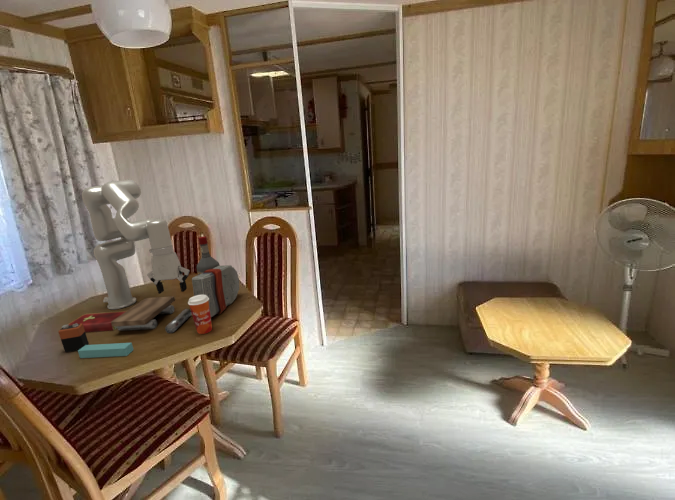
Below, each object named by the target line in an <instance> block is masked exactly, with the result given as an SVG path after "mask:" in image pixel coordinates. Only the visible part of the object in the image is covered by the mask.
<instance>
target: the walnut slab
mask: <svg viewBox="0 0 675 500" xmlns="http://www.w3.org/2000/svg"><path fill="white" fill-rule="evenodd" d="M175 301H176V298H175V295H173V296H158V297H157V296H156V297H144V299H142V300H140V301H139V302H138V303H136V304H135V305H133V306H132V307H131V308H129V309H128V310H125V311H126V312H125V313H123V314H122V315H120V316H119V317H117V318H116V319H115V320H113V321H112V322H111V324H112V327H113V326H131V325H145V324H147V323H148V322H149V321H150V320H154V318H156V317H157V315H160V314H159V313H160V312H161V311H163V310H164V309H165V308H166V307H167V306H169V305H172V304H173V302H175Z"/></svg>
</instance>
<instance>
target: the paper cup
mask: <svg viewBox="0 0 675 500" xmlns="http://www.w3.org/2000/svg"><path fill="white" fill-rule="evenodd" d="M208 300H209V298H208V296H206V295H196V296H194V295H193V296H191V297H189V299H188V301H187V304H188V305H189V310H191V313H192V315H191V316H192V319H193V322H194V326H195V329H196V332H197V334H199V335H205V334H209V333H210V332H211V331H212V330H213V325H212V317H211V316H210V309H209V302H208Z"/></svg>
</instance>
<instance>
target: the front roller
mask: <svg viewBox="0 0 675 500" xmlns="http://www.w3.org/2000/svg"><path fill="white" fill-rule="evenodd" d="M157 326H158V321H157V320H156V319H152V320H150V321H149V322H148V323H147V324H145V325H131V326H117V328H116V330H118V331H119V332H121V331H125V332H126V331H140V330H156V328H157Z"/></svg>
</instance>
